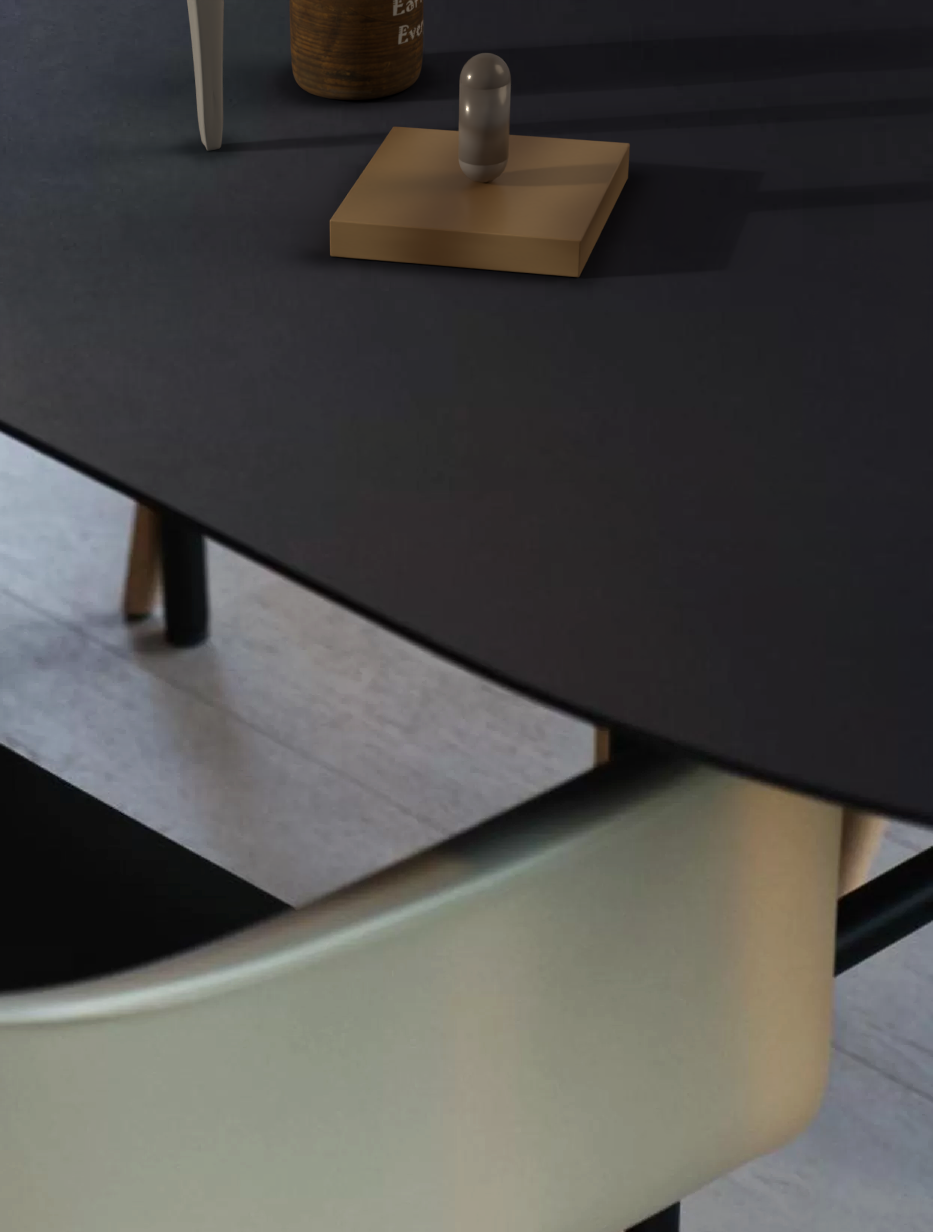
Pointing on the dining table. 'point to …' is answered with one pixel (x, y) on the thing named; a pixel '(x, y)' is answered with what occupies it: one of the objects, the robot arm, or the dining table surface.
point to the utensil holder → (356, 46)
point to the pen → (208, 67)
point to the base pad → (482, 191)
